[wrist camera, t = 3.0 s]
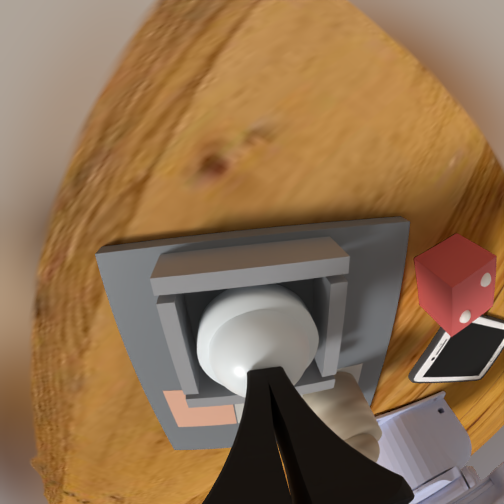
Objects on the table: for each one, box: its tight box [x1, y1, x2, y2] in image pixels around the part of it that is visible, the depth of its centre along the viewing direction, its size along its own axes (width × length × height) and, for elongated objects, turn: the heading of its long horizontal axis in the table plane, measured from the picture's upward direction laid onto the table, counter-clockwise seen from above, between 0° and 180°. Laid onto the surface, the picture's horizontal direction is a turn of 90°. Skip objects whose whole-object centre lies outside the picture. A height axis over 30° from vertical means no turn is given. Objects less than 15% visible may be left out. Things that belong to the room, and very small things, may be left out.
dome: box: [197, 283, 319, 397], centre depth 13 cm, size 6×6×5 cm
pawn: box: [302, 372, 382, 462], centre depth 16 cm, size 4×4×7 cm
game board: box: [95, 216, 410, 450], centre depth 17 cm, size 16×18×4 cm
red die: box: [414, 233, 497, 337], centre depth 15 cm, size 4×4×4 cm
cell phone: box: [408, 314, 504, 383], centre depth 22 cm, size 8×15×1 cm, turn 70°
